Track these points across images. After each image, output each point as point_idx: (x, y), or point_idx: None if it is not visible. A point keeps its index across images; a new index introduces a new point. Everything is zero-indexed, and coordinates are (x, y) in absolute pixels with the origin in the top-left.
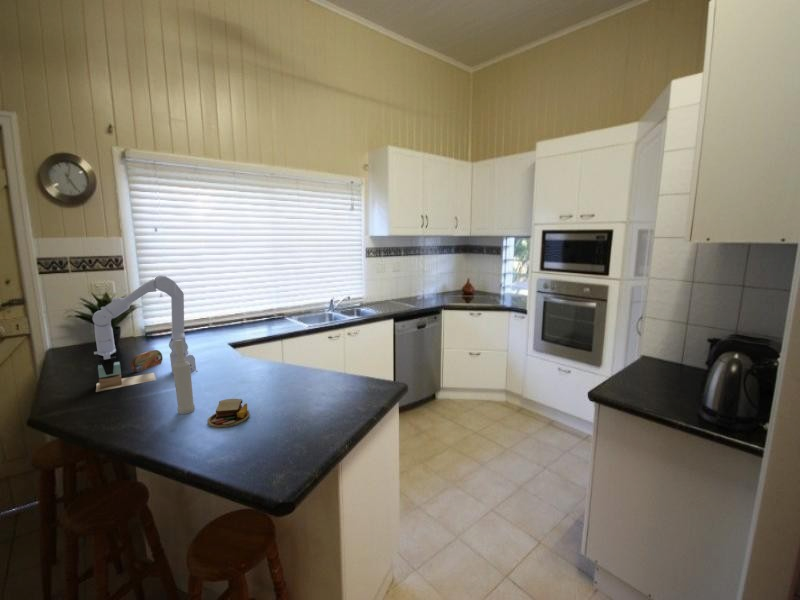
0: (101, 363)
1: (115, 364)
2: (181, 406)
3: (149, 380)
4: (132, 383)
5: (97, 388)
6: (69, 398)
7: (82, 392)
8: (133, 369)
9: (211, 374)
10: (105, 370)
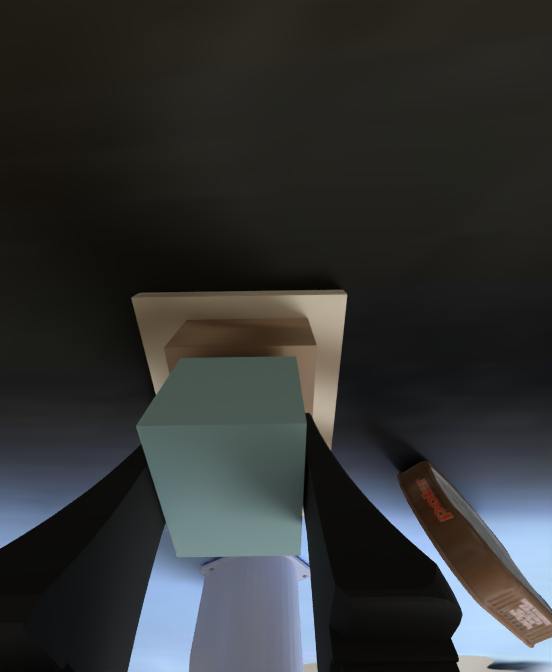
0: (28, 534)
1: (201, 537)
2: None
3: None
4: None
5: (208, 304)
6: (138, 123)
7: (242, 208)
8: (419, 475)
9: (174, 609)
10: (141, 448)
